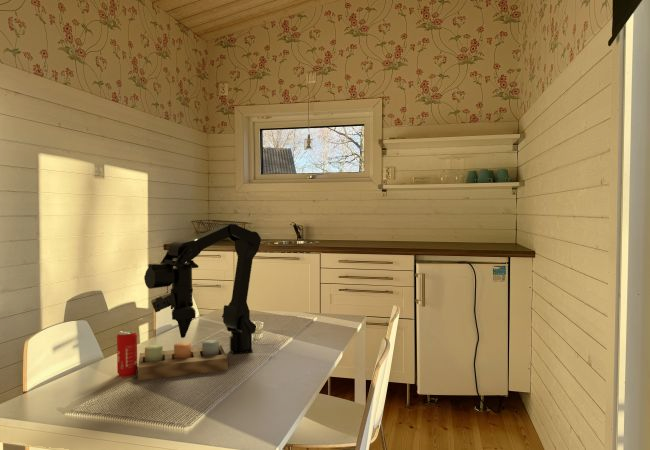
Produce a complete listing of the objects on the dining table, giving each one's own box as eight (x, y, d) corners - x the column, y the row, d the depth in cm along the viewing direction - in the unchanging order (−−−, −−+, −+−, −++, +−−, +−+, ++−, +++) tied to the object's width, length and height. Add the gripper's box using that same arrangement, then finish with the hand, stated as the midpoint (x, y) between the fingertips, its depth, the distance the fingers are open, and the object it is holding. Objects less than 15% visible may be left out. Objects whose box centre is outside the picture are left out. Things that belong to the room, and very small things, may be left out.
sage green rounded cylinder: (217, 352, 145) (217, 339, 145) (219, 356, 140) (219, 343, 140) (201, 353, 143) (201, 340, 143) (203, 358, 139) (203, 344, 139)
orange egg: (190, 354, 142) (190, 341, 142) (191, 359, 138) (191, 345, 138) (174, 356, 141) (173, 343, 141) (174, 361, 136) (174, 347, 136)
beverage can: (130, 378, 130) (129, 335, 130) (113, 377, 131) (112, 334, 131) (141, 372, 135) (140, 330, 135) (125, 371, 136) (124, 329, 136)
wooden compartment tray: (221, 356, 150) (221, 345, 150) (227, 370, 137) (227, 358, 137) (140, 364, 142) (139, 353, 142) (138, 380, 129) (138, 367, 129)
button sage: (162, 357, 140) (162, 344, 139) (162, 362, 135) (162, 348, 135) (145, 359, 138) (145, 345, 138) (144, 364, 133) (144, 350, 133)
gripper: (153, 281, 145) (153, 332, 145) (152, 291, 127) (153, 348, 128) (190, 279, 149) (191, 329, 149) (195, 288, 131) (196, 344, 131)
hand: (182, 337), depth 139 cm, fingers closed
